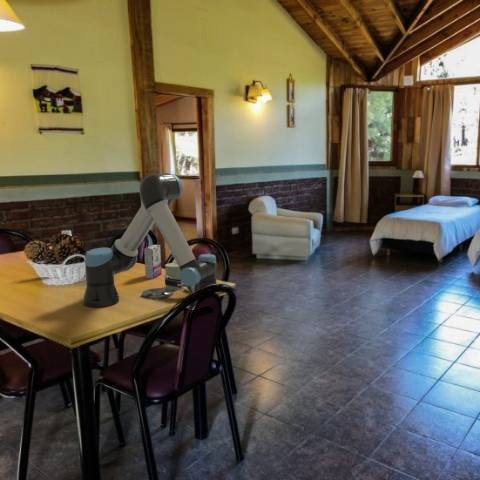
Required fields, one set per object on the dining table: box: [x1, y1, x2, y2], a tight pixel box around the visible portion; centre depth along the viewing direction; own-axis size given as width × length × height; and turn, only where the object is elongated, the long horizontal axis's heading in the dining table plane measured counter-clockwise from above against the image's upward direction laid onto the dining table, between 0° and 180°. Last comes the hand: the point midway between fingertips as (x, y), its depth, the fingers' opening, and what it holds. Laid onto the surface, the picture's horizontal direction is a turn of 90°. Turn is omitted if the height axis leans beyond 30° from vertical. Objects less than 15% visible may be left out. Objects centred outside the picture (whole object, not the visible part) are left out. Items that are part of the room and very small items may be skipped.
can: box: [164, 262, 185, 291], centre depth 229 cm, size 9×9×12 cm
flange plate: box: [141, 287, 174, 300], centre depth 218 cm, size 14×14×1 cm
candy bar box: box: [143, 244, 162, 280], centre depth 251 cm, size 11×5×16 cm, turn 167°
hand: (178, 275), depth 226 cm, fingers open, 13 cm apart
